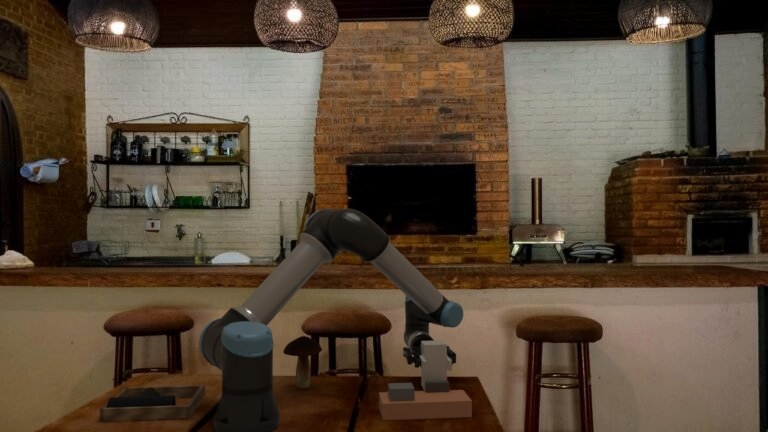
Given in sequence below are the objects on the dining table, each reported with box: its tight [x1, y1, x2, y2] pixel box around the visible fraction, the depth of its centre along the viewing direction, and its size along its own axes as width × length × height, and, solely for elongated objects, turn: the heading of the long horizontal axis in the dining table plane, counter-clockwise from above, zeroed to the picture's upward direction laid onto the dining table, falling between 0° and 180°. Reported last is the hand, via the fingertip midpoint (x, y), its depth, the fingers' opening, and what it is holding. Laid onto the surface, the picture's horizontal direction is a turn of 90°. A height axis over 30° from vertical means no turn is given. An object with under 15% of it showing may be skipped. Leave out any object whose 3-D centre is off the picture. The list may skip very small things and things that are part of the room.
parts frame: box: [99, 384, 206, 423], centre depth 148 cm, size 21×18×3 cm
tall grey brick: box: [420, 339, 448, 391], centre depth 154 cm, size 6×5×12 cm
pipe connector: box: [106, 386, 177, 408], centre depth 145 cm, size 12×5×15 cm
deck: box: [378, 380, 473, 421], centre depth 148 cm, size 22×16×7 cm
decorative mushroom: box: [282, 335, 323, 390], centre depth 165 cm, size 11×11×15 cm
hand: (437, 366), depth 149 cm, fingers closed on tall grey brick, 6 cm apart
